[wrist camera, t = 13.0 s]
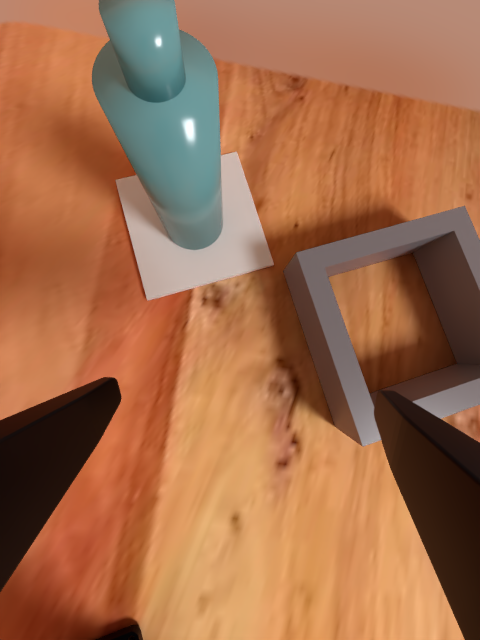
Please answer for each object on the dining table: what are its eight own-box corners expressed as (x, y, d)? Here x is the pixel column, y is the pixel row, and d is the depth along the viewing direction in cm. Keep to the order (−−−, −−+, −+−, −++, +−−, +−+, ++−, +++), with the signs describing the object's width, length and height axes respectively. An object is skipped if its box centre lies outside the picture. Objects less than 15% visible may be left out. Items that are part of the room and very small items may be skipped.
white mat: (148, 300, 20) (147, 299, 19) (117, 183, 21) (115, 179, 21) (273, 265, 21) (274, 264, 20) (236, 155, 22) (236, 151, 22)
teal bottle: (194, 261, 20) (136, 102, 7) (152, 223, 20) (21, 2, 7) (234, 221, 21) (247, 9, 8) (192, 184, 21) (137, -80, 8)
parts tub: (335, 426, 19) (362, 446, 15) (283, 271, 21) (296, 252, 17) (480, 376, 21) (541, 382, 17) (422, 231, 22) (464, 205, 18)
